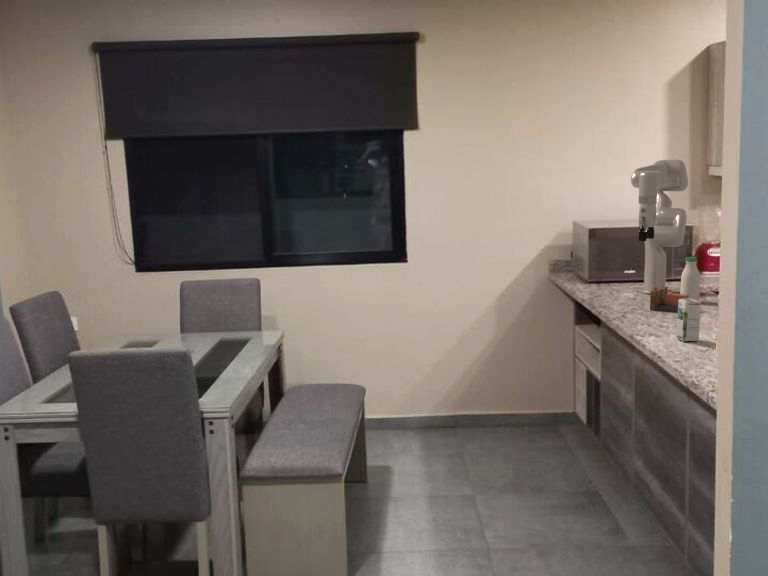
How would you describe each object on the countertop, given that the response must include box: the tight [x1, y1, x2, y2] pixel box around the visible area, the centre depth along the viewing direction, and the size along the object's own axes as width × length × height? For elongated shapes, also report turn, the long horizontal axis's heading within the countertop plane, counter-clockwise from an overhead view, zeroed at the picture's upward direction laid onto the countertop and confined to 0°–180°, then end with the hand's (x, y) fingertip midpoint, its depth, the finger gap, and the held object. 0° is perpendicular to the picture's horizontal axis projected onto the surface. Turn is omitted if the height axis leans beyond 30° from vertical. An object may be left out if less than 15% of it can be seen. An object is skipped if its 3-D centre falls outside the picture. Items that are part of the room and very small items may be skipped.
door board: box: [649, 286, 669, 312], centre depth 321 cm, size 15×2×10 cm, turn 141°
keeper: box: [657, 303, 678, 313], centre depth 317 cm, size 9×12×2 cm
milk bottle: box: [679, 256, 701, 301], centre depth 331 cm, size 8×8×20 cm
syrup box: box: [675, 299, 702, 342], centre depth 264 cm, size 6×6×14 cm
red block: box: [665, 291, 689, 307], centre depth 317 cm, size 4×8×7 cm, turn 51°
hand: (646, 239), depth 330 cm, fingers open, 9 cm apart
